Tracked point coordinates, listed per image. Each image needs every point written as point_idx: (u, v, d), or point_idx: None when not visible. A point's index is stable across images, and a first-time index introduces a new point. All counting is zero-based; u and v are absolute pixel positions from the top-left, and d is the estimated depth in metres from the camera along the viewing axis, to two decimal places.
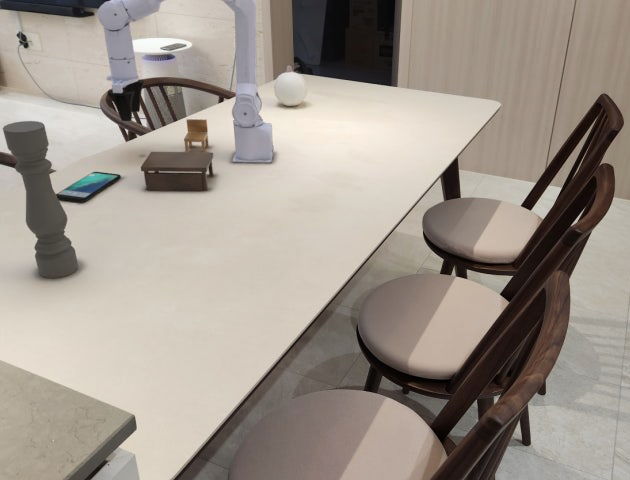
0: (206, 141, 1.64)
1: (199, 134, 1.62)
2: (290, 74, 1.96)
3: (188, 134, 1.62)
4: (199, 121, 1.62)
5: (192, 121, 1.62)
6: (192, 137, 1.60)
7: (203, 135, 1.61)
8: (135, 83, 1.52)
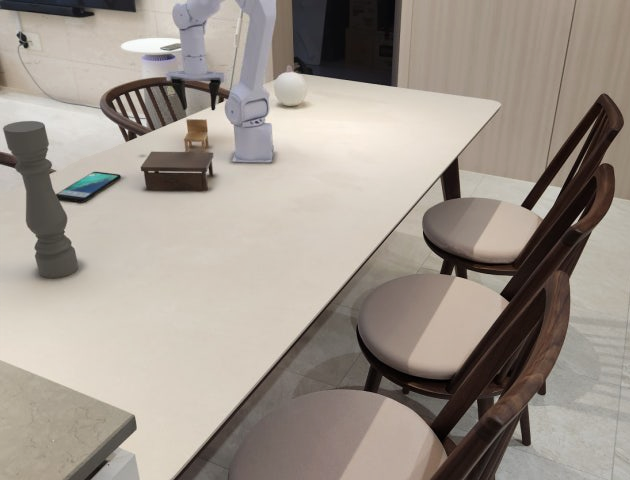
0: (206, 141, 1.64)
1: (199, 134, 1.62)
2: (290, 74, 1.96)
3: (188, 134, 1.62)
4: (199, 121, 1.62)
5: (192, 121, 1.62)
6: (192, 137, 1.60)
7: (203, 135, 1.61)
8: None
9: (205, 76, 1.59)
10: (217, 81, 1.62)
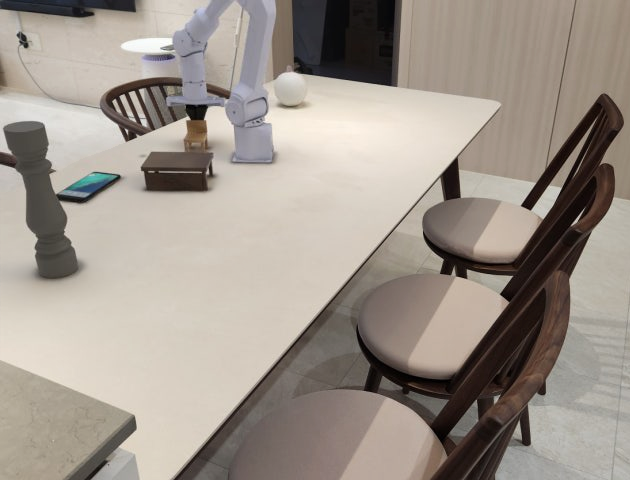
0: (206, 142, 1.64)
1: (199, 134, 1.62)
2: (290, 74, 1.96)
3: (188, 135, 1.61)
4: (199, 122, 1.61)
5: (192, 122, 1.61)
6: (192, 138, 1.59)
7: (203, 136, 1.61)
8: None
9: (205, 101, 1.59)
10: (204, 106, 1.61)
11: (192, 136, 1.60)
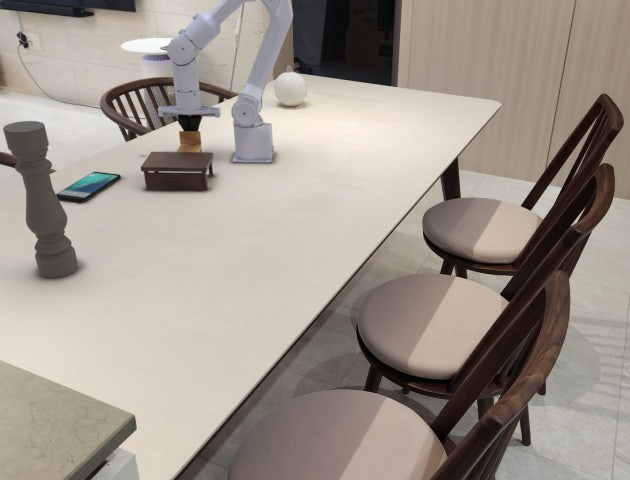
0: None
1: (193, 146, 1.54)
2: (290, 74, 1.96)
3: (181, 147, 1.53)
4: (192, 133, 1.54)
5: (185, 133, 1.53)
6: (185, 150, 1.51)
7: (196, 148, 1.53)
8: (190, 119, 1.53)
9: (199, 112, 1.52)
10: (198, 116, 1.53)
11: (185, 148, 1.52)
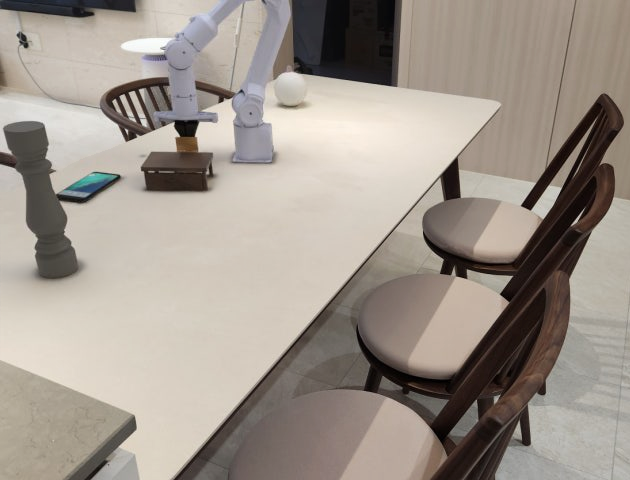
0: None
1: None
2: (290, 74, 1.96)
3: None
4: (189, 139, 1.50)
5: (181, 139, 1.50)
6: None
7: None
8: None
9: (196, 117, 1.48)
10: (195, 122, 1.50)
11: None
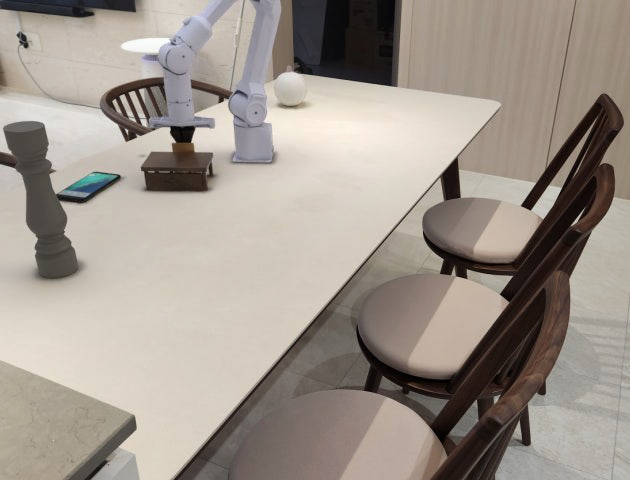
0: None
1: None
2: (290, 74, 1.96)
3: None
4: (186, 145, 1.46)
5: (178, 145, 1.46)
6: None
7: None
8: None
9: (192, 123, 1.44)
10: (191, 127, 1.46)
11: None
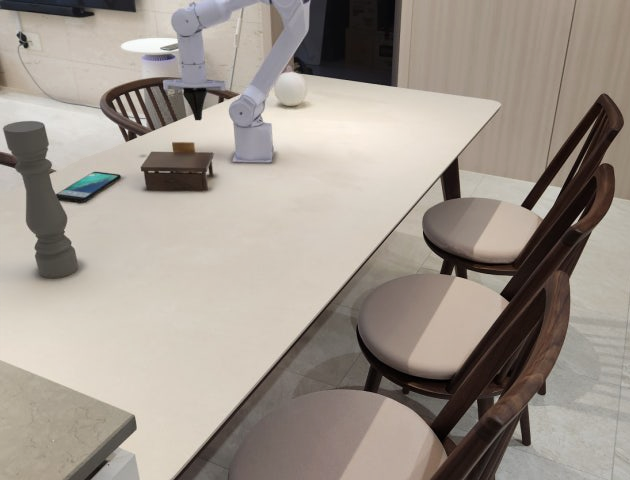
0: None
1: None
2: (290, 74, 1.96)
3: None
4: (186, 144, 1.47)
5: (178, 144, 1.46)
6: None
7: None
8: None
9: (205, 85, 1.51)
10: (203, 89, 1.52)
11: None
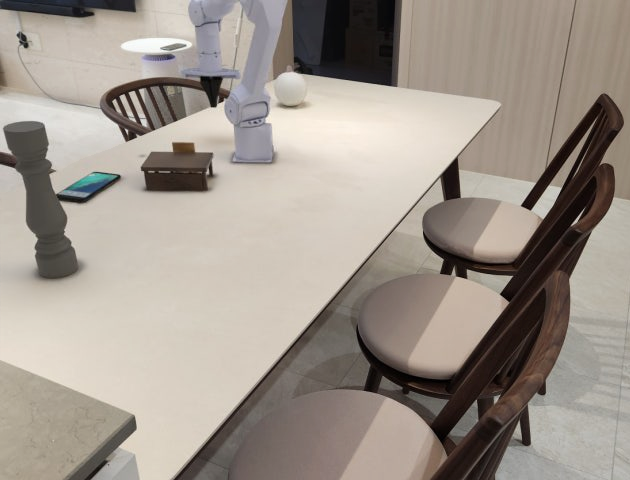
0: None
1: None
2: (290, 74, 1.96)
3: None
4: (186, 144, 1.47)
5: (178, 144, 1.46)
6: None
7: None
8: None
9: (220, 73, 1.58)
10: (219, 78, 1.60)
11: None
